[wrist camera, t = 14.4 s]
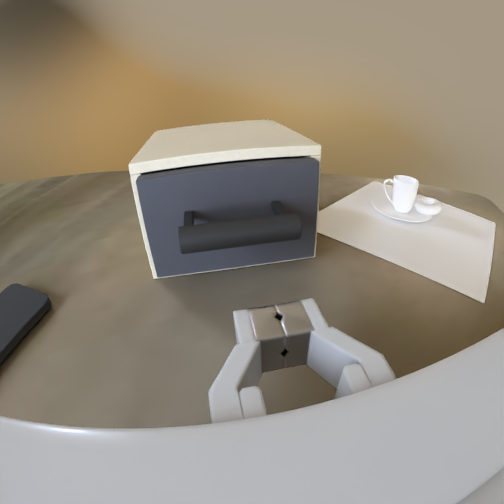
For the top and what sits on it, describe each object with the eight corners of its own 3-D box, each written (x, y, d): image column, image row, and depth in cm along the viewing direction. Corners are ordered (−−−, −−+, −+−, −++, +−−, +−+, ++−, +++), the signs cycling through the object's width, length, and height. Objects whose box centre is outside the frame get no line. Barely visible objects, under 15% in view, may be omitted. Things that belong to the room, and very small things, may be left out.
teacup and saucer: (443, 213, 32) (449, 183, 30) (429, 235, 28) (437, 200, 26) (384, 193, 38) (388, 165, 36) (359, 210, 33) (363, 177, 31)
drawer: (335, 290, 20) (348, 181, 16) (152, 316, 19) (121, 206, 14) (271, 193, 36) (270, 129, 32) (168, 205, 34) (159, 141, 30)
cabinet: (315, 257, 25) (321, 145, 20) (153, 279, 24) (127, 164, 19) (272, 192, 38) (270, 119, 33) (166, 205, 37) (155, 131, 32)
